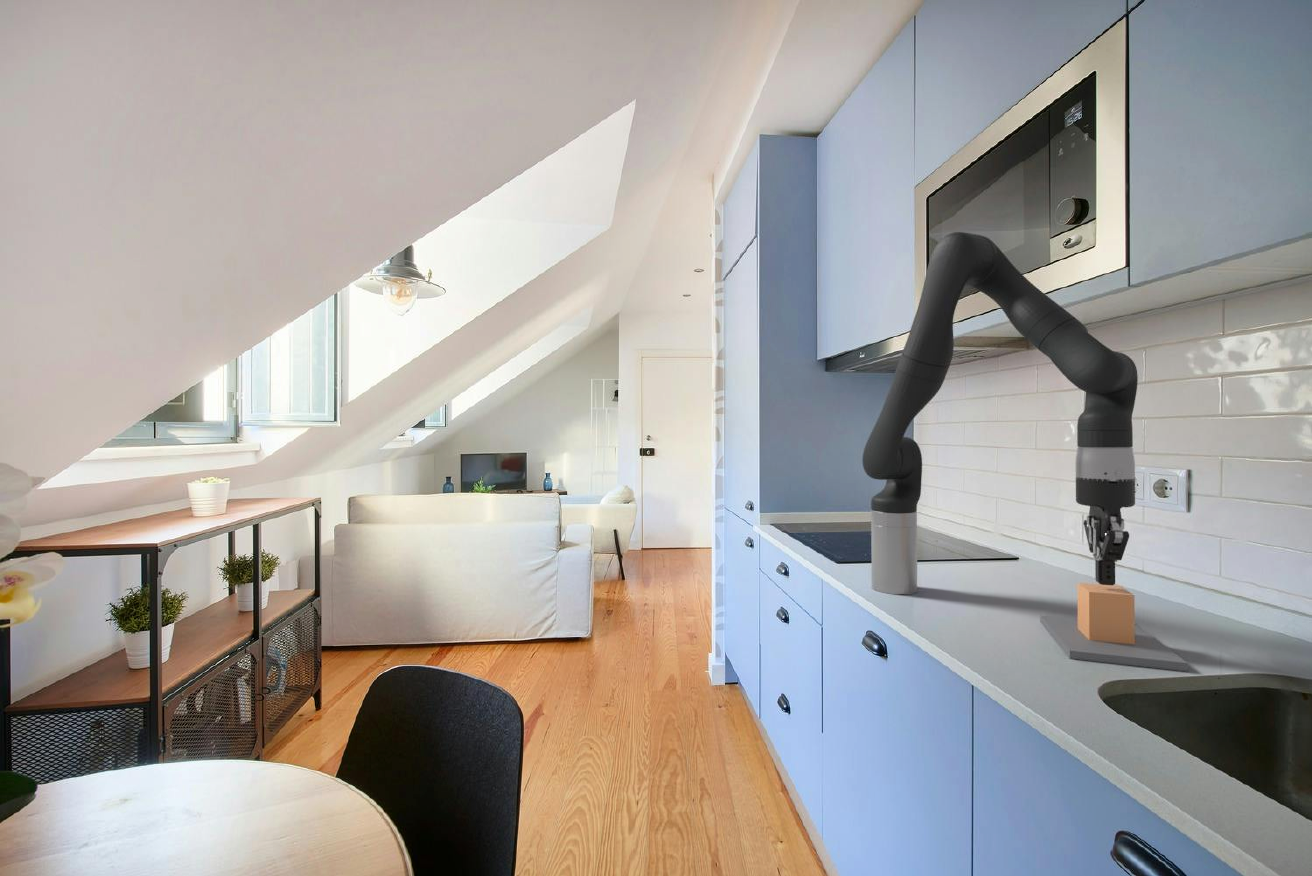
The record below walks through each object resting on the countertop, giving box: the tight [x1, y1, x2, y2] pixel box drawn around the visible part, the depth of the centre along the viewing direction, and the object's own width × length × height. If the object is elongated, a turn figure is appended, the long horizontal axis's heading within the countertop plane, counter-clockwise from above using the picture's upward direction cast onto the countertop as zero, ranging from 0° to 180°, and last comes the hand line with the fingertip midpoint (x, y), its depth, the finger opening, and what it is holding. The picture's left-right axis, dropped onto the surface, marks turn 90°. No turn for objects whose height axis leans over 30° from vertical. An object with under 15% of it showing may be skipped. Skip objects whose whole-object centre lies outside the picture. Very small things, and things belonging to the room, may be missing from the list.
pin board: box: [1039, 614, 1189, 673], centre depth 93 cm, size 18×14×7 cm
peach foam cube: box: [1077, 582, 1135, 645], centre depth 94 cm, size 6×6×8 cm
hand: (1105, 583), depth 93 cm, fingers closed
